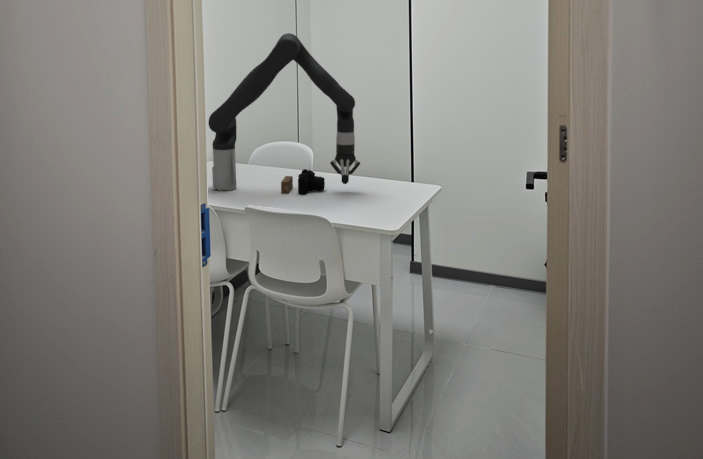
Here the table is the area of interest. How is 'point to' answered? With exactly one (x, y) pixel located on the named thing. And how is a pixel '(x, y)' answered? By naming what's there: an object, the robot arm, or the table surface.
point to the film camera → (309, 182)
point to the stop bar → (286, 184)
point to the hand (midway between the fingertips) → (345, 183)
